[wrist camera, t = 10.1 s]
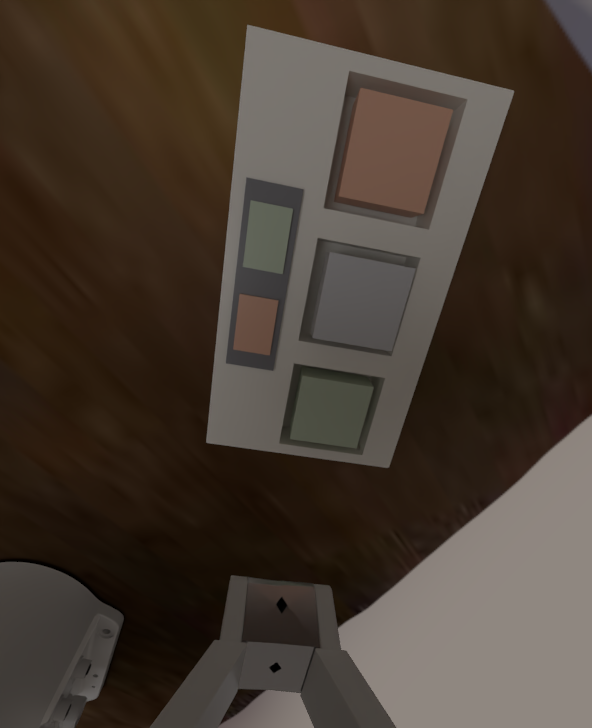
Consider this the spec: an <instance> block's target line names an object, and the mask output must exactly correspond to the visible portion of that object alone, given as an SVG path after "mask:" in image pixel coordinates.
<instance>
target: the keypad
mask: <svg viewBox="0 0 592 728" xmlns="http://www.w3.org/2000/svg"><path fill="white" fill-rule="evenodd" d="M360 88H365V89H369V90H373V91H377V92H381V93H386V94H390V95H394V96H398V97H402V98H407V99H411V100H415V101H419V102H423V103H427V104H432V105H436V106H440V107H444V108H448V109H453V113H452V116H451V120H450V123H449V127H448V130H447V134H446V137H445V141H444V144H443V148H442V151H441V155H440V158H439V162H438V165H437V169H436V172H435V176H434V179H433V183H432V186H431V190H430V193H429V197H428V200H427V204H426V207H425V211H424V214H422V215H418V216H415V217H412V218H410V217H405V216H400V215H395V214H390V213H385V212H381V211H376V210H371V209H366V208H361V207H356V206H352V205H347V204H342V203H337V202H334V199H335V194H336V188H337V183H338V178H339V173H340V168H341V163H342V158H343V153H344V148H345V143H346V138H347V133H348V128H349V123H350V117H351V112H352V107H353V104H354V102H355V99H356V97H357V95H358V92H359V90H360ZM513 94H514V91H513V90H509V89H505V88H501V87H497V86H493V85H489V84H485V83H481V82H477V81H473V80H468V79H464V78H460V77H456V76H452V75H448V74H444V73H440V72H436V71H432V70H428V69H424V68H420V67H416V66H412V65H408V64H404V63H400V62H396V61H392V60H388V59H384V58H380V57H376V56H372V55H368V54H363V53H359V52H355V51H351V50H347V49H343V48H339V47H335V46H331V45H327V44H323V43H319V42H315V41H311V40H307V39H303V38H299V37H295V36H291V35H287V34H283V33H279V32H275V31H271V30H267V29H263V28H258V27H254V26H250V25H247V34H246V44H245V54H244V64H243V75H242V85H241V95H240V105H239V115H238V125H237V135H236V145H235V156H234V166H233V176H232V186H231V196H230V206H229V216H228V227H227V237H226V247H225V257H224V267H223V277H222V287H221V297H220V308H219V318H218V328H217V338H216V348H215V358H214V368H213V378H212V389H211V399H210V409H209V419H208V429H207V439H206V443H211V444H218V445H226V446H233V447H240V448H247V449H255V450H262V451H269V452H276V453H283V454H291V455H298V456H305V457H312V458H319V459H327V460H334V461H341V462H348V463H355V464H363V465H370V466H377V467H384V468H389V466H390V463H391V460H392V457H393V454H394V451H395V448H396V445H397V442H398V439H399V436H400V433H401V430H402V427H403V424H404V421H405V418H406V415H407V412H408V409H409V406H410V403H411V400H412V397H413V394H414V391H415V388H416V385H417V382H418V379H419V376H420V373H421V370H422V367H423V364H424V361H425V358H426V355H427V352H428V349H429V346H430V343H431V340H432V337H433V334H434V331H435V328H436V325H437V322H438V319H439V316H440V313H441V310H442V307H443V304H444V301H445V298H446V295H447V292H448V289H449V286H450V283H451V280H452V277H453V274H454V271H455V268H456V265H457V262H458V259H459V256H460V253H461V250H462V247H463V244H464V241H465V238H466V235H467V232H468V229H469V226H470V223H471V220H472V217H473V214H474V211H475V208H476V205H477V202H478V199H479V196H480V193H481V190H482V187H483V184H484V181H485V178H486V175H487V172H488V169H489V166H490V163H491V160H492V157H493V154H494V151H495V148H496V145H497V142H498V139H499V136H500V133H501V130H502V127H503V124H504V121H505V118H506V115H507V112H508V109H509V106H510V103H511V100H512V97H513ZM326 252H332V253H338V254H343V255H348V256H353V257H358V258H364V259H369V260H374V261H379V262H384V263H389V264H395V265H400V266H405V267H410V268H415V269H416V270H415V273H414V277H413V280H412V283H411V287H410V290H409V294H408V297H407V301H406V304H405V307H404V311H403V314H402V318H401V321H400V324H399V328H398V331H397V335H396V338H395V341H394V345H393V348H392V352H391V351H385V350H379V349H373V348H368V347H362V346H356V345H350V344H344V343H338V342H332V341H326V340H321V339H315V338H312V335H311V331H310V330H311V325H312V320H313V315H314V310H315V305H316V300H317V295H318V290H319V285H320V280H321V275H322V270H323V265H324V260H325V255H326ZM301 366H305V367H311V368H317V369H323V370H329V371H335V372H342V373H348V374H354V375H360V376H366V377H368V379H369V380H370V382H371V384H372V385H373V387H374V389H373V392H372V396H371V399H370V403H369V406H368V410H367V413H366V417H365V420H364V424H363V427H362V431H361V434H360V438H359V441H358V445H357V448H349V447H342V446H335V445H328V444H321V443H314V442H307V441H300V440H293V439H290V421H291V416H292V411H293V406H294V401H295V396H296V391H297V386H298V381H299V376H300V371H301Z"/></svg>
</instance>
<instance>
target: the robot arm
mask: <svg viewBox="0 0 592 728" xmlns="http://www.w3.org/2000/svg"><path fill="white" fill-rule="evenodd" d="M123 621H124V616H123V615H122V614H121V613H120V612H119V611H118V610H116V609H114V608H112V607H110V606H108V605H106V604H104V603H102V602H101V601H99V600H98V599H97V598H96V597H95V596H94V595H93V594H92V593H91V592H90V591H89V590H88V589H87V588H86V587H85V586H83V585H82V584H81V583H80V582H78V581H77V580H75V579H73V578H72V577H70V576H68V575H66V574H64V573H62V572H60V571H57V570H55V569H52V568H49V567H46V566H42V565H38V564H32V563H25V562H1V563H0V728H75V727H76V725H77V723H78V721H79V719H80V716H81V714H82V712H83V709H84V707H85V704H86V701H90V700H93V699H96V698H97V697H98V695H99V693H100V691H101V689H102V688H103V685H104V682H105V679H106V676H107V672H108V669H109V666H110V663H111V660H112V656H113V653H114V650H115V647H116V643H117V640H118V637H119V634H120V630H121V627H122V624H123ZM238 689H262V690H276V691H286V692H296V693H301V698H302V700H303V702H304V705H305V707H306V709H307V712H308V714H309V716H310V719H311V721H312V723H313V726H314V728H396V727H395V725H394V723H393V722H392V721H391V719H390V717H389V716H388V714H387V713H386V711H385V710H384V708H383V707H382V705H381V704H380V702H379V701H378V699H377V697H376V696H375V694H374V693H373V691H372V690H371V688H370V687H369V685H368V684H367V682H366V681H365V679H364V677H363V676H362V674H361V673H360V672H359V670H358V668H357V667H356V665H355V664H354V662H353V660H352V659H351V657H350V656H349V654H348V653H347V651H344V650H341V647H340V641H339V634H338V627H337V621H336V614H335V608H334V601H333V595H332V589H331V587H330V586H329V585H319V584H312V583H304V582H292V581H274V580H266V579H258V578H251V577H243V576H233V575H231V578H230V582H229V588H228V593H227V599H226V605H225V610H224V616H223V622H222V628H221V634H220V640H214V641H213V643H212V644H211V645H210V647H209V648H208V649H207V651H206V652H205V653H204V655H203V656H202V657H201V659H200V660H199V662H198V663H197V664H196V666H195V667H194V668H193V670H192V671H191V672H190V674H189V675H188V676H187V678H186V679H185V681H184V682H183V683H182V685H181V686H180V687H179V689H178V690H177V691H176V693H175V694H174V695H173V697H172V698H171V700H170V701H169V702H168V704H167V705H166V706H165V708H164V709H163V710H162V712H161V713H160V714H159V716H158V717H157V718H156V720H155V721H154V723H153V724H152V725H151V727H150V728H218V726H219V724H220V722H221V720H222V718H223V717H224V715H225V713H226V711H227V709H228V707H229V706H230V704H231V702H232V700H233V698H234V696H235V695H236V693H237V690H238Z"/></svg>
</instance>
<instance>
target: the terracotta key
mask: <svg viewBox="0 0 592 728" xmlns="http://www.w3.org/2000/svg"><path fill="white" fill-rule="evenodd" d="M452 113H453V109H448V108H444V107H440V106H436V105H432V104H427V103H423V102H419V101H415V100H411V99H407V98H402V97H398V96H394V95H390V94H386V93H381V92H377V91H373V90H369V89H365V88H360V90H359V92H358V95H357V97H356V99H355V102H354V104H353V107H352V112H351V117H350V123H349V128H348V133H347V138H346V143H345V148H344V153H343V158H342V163H341V168H340V173H339V178H338V183H337V188H336V194H335V199H334V202H337V203H342V204H347V205H352V206H356V207H361V208H366V209H371V210H376V211H381V212H385V213H390V214H395V215H400V216H405V217H410V218H412V217H415V216H418V215H422V214H424V211H425V207H426V204H427V200H428V197H429V193H430V190H431V186H432V183H433V179H434V176H435V172H436V169H437V165H438V162H439V158H440V155H441V151H442V148H443V144H444V141H445V137H446V134H447V130H448V127H449V123H450V120H451V116H452Z"/></svg>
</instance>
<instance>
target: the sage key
mask: <svg viewBox="0 0 592 728" xmlns="http://www.w3.org/2000/svg"><path fill="white" fill-rule="evenodd" d="M373 389H374V387H373V385H372V384H371V382H370V380H369V379H368V377H366V376H360V375H354V374H348V373H342V372H335V371H329V370H323V369H317V368H311V367H305V366H301V371H300V376H299V381H298V386H297V391H296V396H295V401H294V406H293V411H292V416H291V421H290V439H293V440H300V441H307V442H314V443H321V444H328V445H335V446H342V447H349V448H357V445H358V441H359V438H360V434H361V431H362V427H363V424H364V420H365V417H366V413H367V410H368V406H369V403H370V399H371V396H372V392H373Z"/></svg>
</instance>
